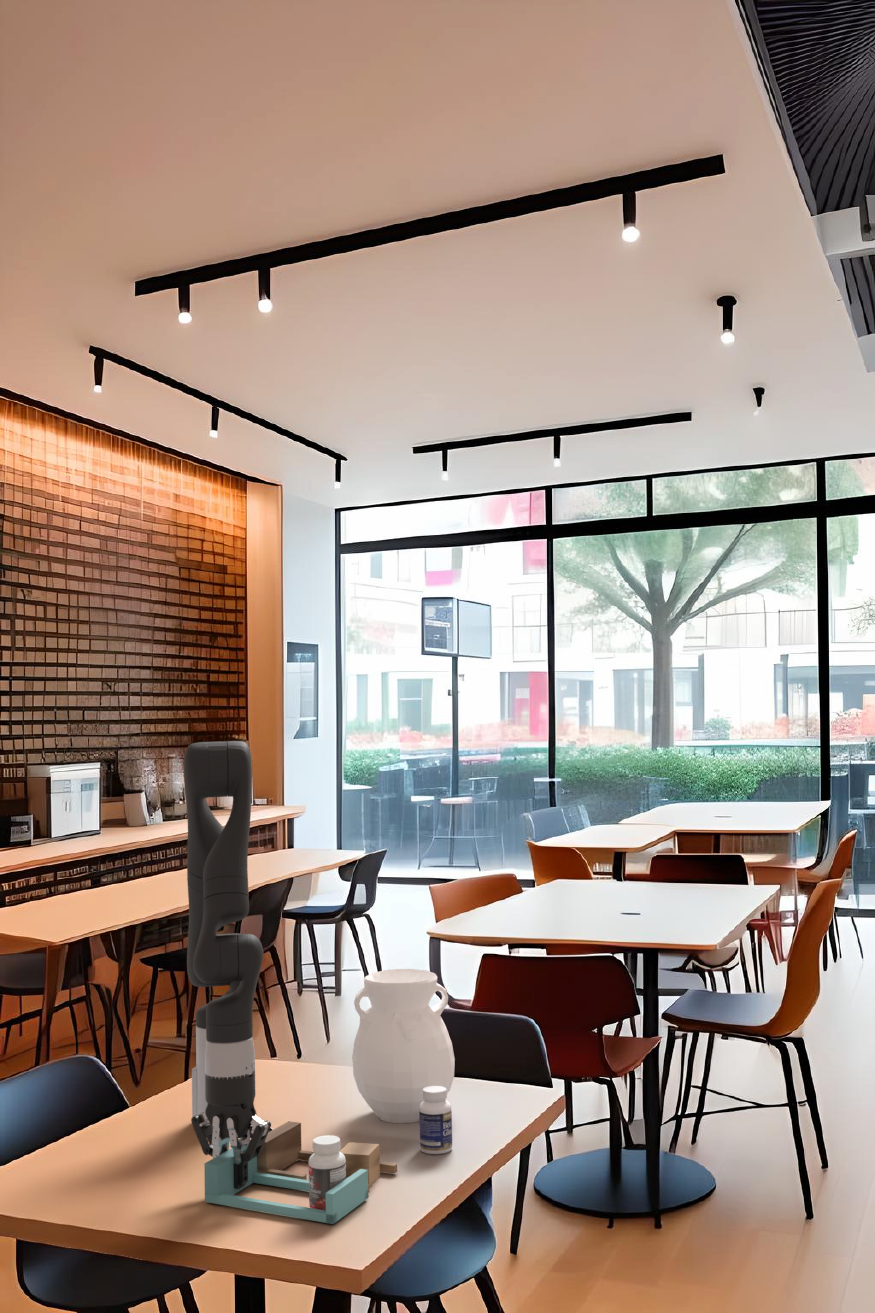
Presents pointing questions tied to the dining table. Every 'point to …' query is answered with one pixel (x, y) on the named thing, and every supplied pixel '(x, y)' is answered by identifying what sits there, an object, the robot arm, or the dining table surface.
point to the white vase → (401, 1043)
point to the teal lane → (337, 1198)
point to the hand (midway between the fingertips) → (231, 1185)
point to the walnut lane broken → (291, 1152)
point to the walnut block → (362, 1160)
